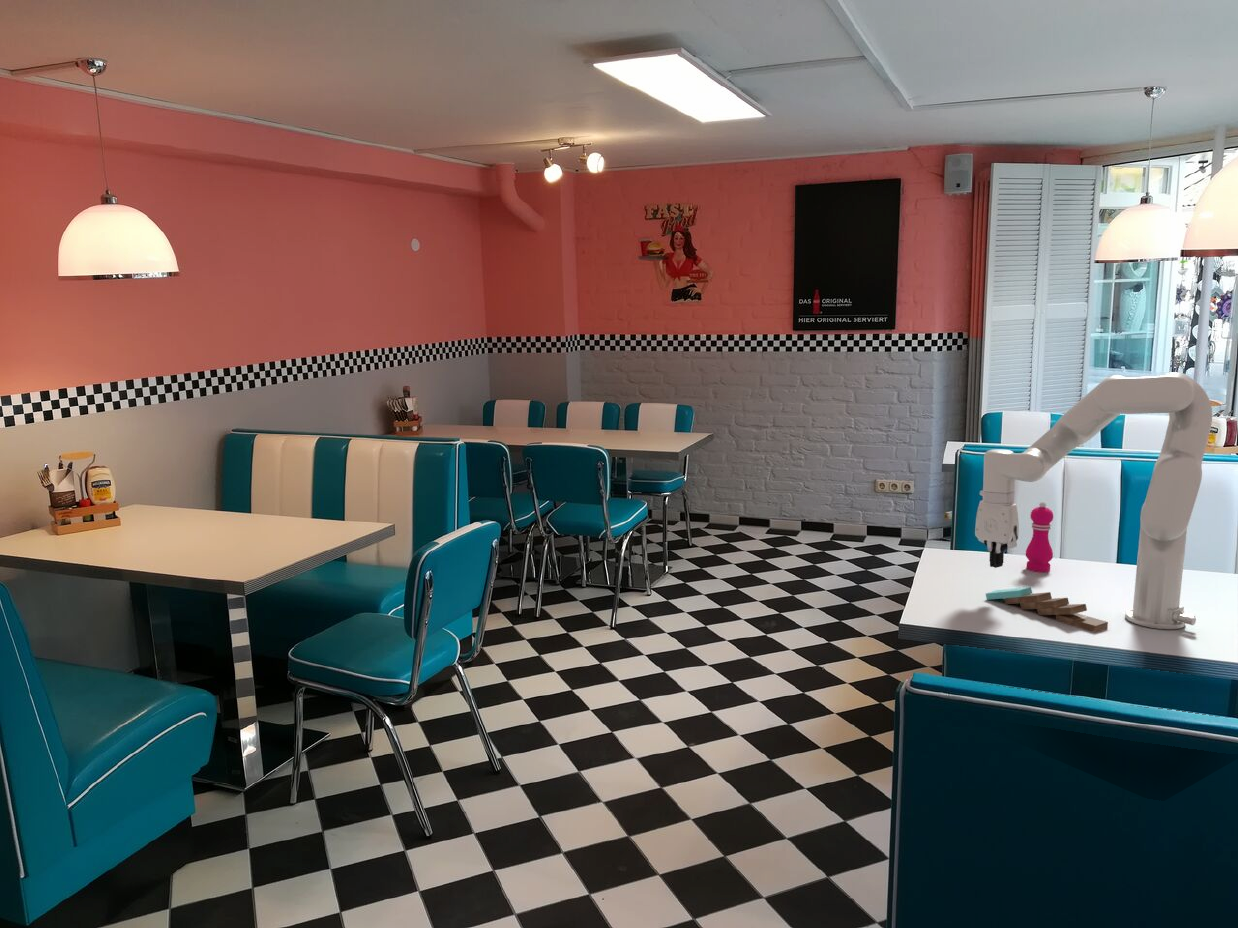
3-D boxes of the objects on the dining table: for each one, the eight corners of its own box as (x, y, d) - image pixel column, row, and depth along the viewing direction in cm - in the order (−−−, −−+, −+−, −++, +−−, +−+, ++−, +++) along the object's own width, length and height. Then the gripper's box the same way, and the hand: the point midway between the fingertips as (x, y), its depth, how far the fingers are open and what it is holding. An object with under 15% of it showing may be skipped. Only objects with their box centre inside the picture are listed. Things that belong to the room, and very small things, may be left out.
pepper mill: (1046, 565, 268) (1051, 499, 265) (1055, 572, 261) (1060, 504, 258) (1021, 565, 269) (1025, 499, 266) (1029, 572, 262) (1034, 504, 259)
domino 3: (1034, 606, 233) (1069, 604, 224) (1021, 609, 230) (1056, 607, 222) (1033, 599, 233) (1067, 597, 224) (1020, 603, 230) (1054, 600, 222)
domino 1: (998, 596, 241) (1032, 593, 233) (986, 599, 238) (1021, 596, 230) (996, 590, 241) (1030, 586, 233) (985, 593, 238) (1019, 590, 230)
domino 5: (1067, 616, 225) (1107, 628, 216) (1055, 620, 222) (1095, 632, 214) (1068, 610, 225) (1107, 621, 216) (1056, 614, 222) (1095, 625, 214)
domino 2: (1017, 601, 237) (1051, 598, 228) (1005, 604, 234) (1039, 601, 226) (1016, 594, 237) (1050, 591, 229) (1003, 597, 235) (1037, 595, 226)
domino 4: (1052, 611, 228) (1087, 610, 219) (1038, 615, 226) (1073, 614, 217) (1050, 605, 228) (1085, 603, 219) (1036, 608, 226) (1071, 607, 217)
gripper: (964, 495, 240) (962, 563, 242) (1015, 503, 227) (1013, 575, 230) (982, 491, 244) (980, 558, 247) (1033, 499, 231) (1031, 569, 234)
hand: (996, 566), depth 238 cm, fingers closed
